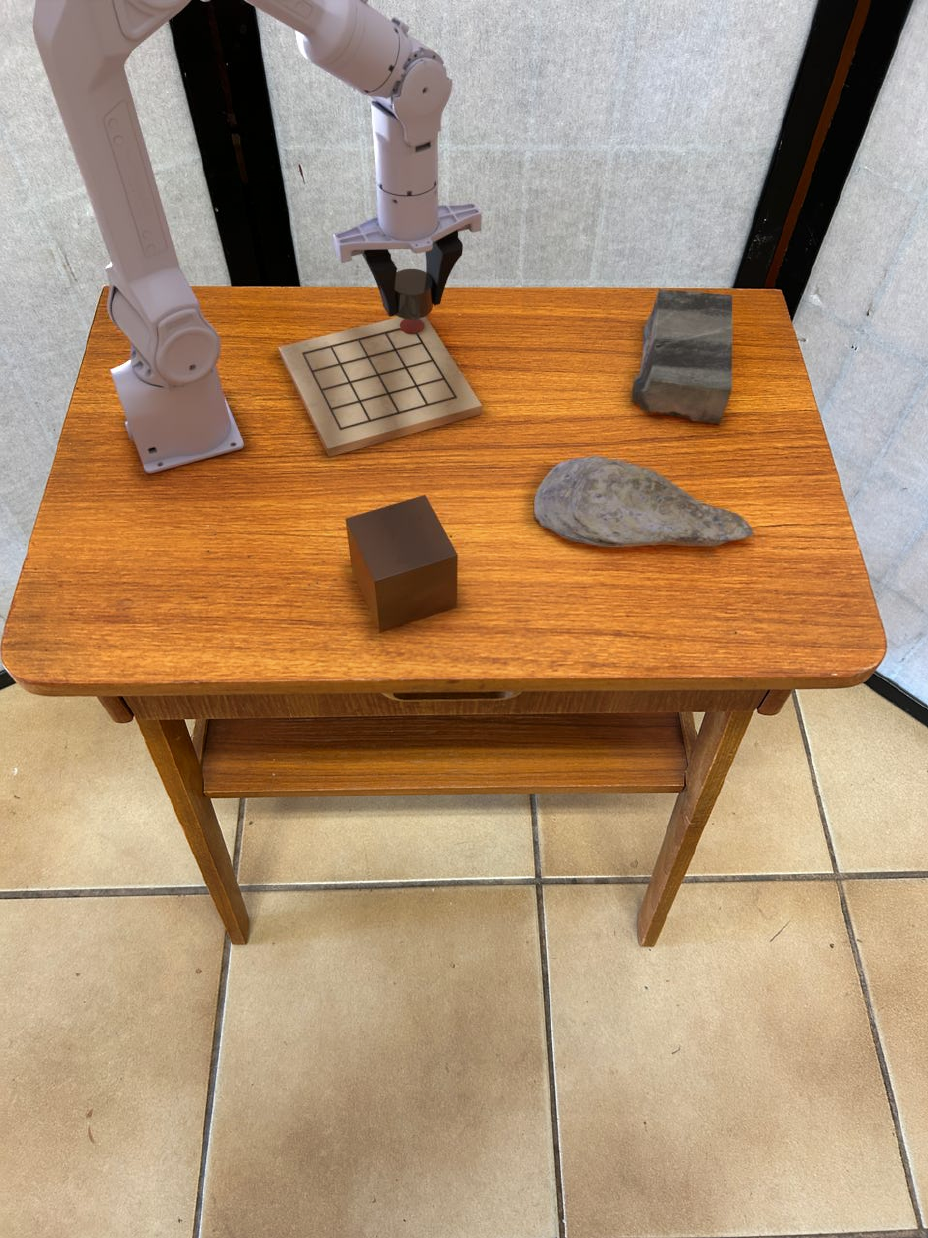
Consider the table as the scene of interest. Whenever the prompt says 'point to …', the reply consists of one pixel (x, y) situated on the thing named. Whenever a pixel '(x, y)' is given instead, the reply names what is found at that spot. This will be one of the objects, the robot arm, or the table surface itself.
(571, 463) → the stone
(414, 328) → the grid board
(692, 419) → the stone block
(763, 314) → the table surface
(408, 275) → the black cylinder
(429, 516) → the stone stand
